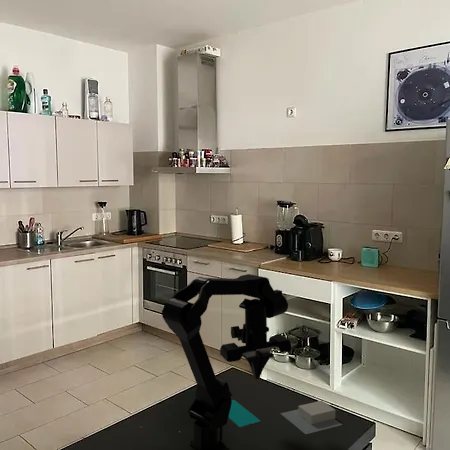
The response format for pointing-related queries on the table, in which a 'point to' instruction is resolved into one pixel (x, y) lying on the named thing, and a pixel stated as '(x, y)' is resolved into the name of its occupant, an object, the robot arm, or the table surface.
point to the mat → (306, 426)
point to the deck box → (316, 412)
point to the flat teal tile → (241, 415)
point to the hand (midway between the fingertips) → (256, 378)
